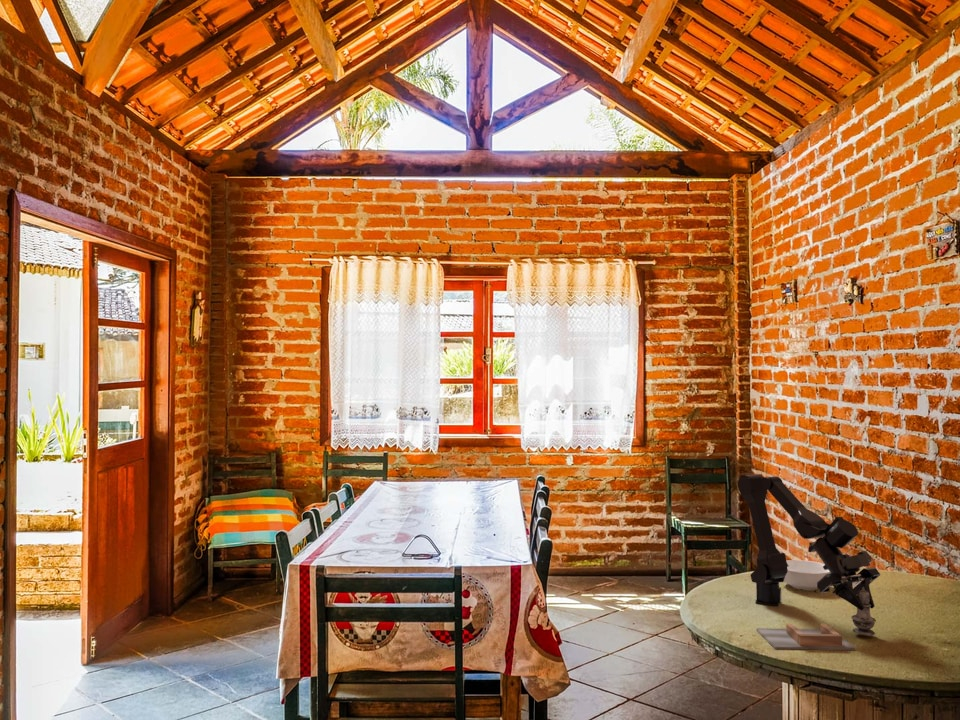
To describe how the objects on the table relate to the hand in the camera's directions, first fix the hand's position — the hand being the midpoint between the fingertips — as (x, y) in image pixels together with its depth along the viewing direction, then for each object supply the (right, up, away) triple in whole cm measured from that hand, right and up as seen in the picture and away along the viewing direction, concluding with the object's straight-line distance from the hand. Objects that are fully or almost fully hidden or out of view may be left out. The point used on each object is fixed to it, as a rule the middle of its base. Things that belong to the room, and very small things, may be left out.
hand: (868, 608), depth 195 cm
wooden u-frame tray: (-18, -8, -2) cm, 20 cm away
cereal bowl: (+4, -10, +49) cm, 50 cm away
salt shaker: (-1, -7, +1) cm, 7 cm away
